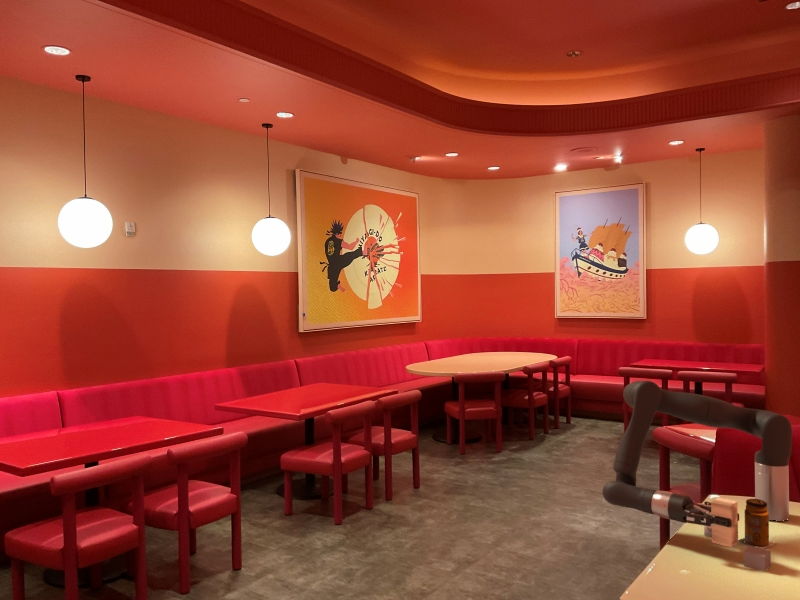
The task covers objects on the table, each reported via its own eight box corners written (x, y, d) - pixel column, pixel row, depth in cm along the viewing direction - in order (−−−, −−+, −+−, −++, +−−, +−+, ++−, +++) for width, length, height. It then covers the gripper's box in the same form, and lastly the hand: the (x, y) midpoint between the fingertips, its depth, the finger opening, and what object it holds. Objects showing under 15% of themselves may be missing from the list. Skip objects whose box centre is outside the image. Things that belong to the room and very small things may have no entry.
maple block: (718, 536, 176) (717, 497, 176) (738, 541, 172) (737, 501, 172) (711, 542, 172) (710, 502, 172) (731, 547, 169) (730, 506, 168)
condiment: (775, 544, 180) (775, 502, 180) (760, 551, 175) (759, 508, 175) (749, 536, 186) (749, 495, 186) (733, 542, 181) (733, 501, 181)
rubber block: (749, 560, 170) (749, 545, 170) (770, 566, 166) (770, 550, 166) (743, 566, 166) (743, 551, 166) (764, 572, 162) (764, 556, 162)
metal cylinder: (707, 531, 190) (707, 514, 190) (721, 535, 187) (721, 518, 187) (702, 535, 187) (701, 518, 187) (716, 538, 184) (716, 521, 184)
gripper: (660, 499, 177) (725, 513, 165) (681, 487, 187) (744, 499, 175) (661, 526, 178) (725, 542, 165) (682, 512, 187) (744, 526, 175)
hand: (734, 520), depth 170 cm, fingers closed on maple block, 5 cm apart
